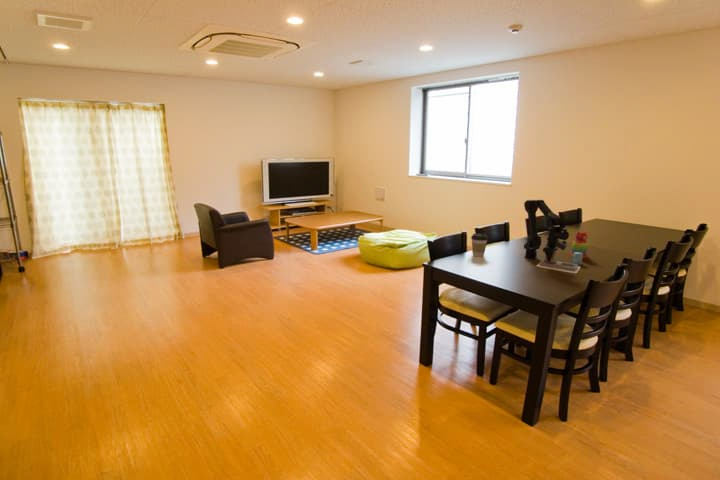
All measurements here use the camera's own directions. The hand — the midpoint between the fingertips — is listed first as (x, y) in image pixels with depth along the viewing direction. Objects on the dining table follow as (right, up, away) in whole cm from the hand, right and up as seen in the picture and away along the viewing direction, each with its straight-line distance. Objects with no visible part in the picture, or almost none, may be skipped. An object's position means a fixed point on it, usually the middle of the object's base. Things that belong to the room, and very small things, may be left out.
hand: (550, 260), depth 259 cm
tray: (+4, -4, -2) cm, 6 cm away
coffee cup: (-39, +2, +22) cm, 45 cm away
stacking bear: (+29, +1, +21) cm, 36 cm away
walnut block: (0, -2, 0) cm, 2 cm away
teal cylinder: (+20, -2, +6) cm, 21 cm away
